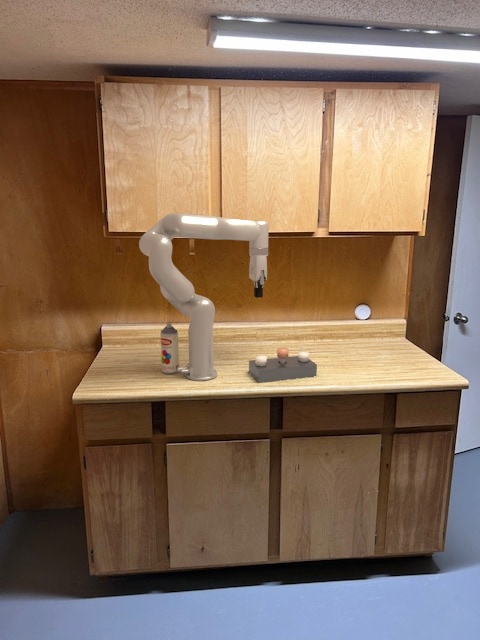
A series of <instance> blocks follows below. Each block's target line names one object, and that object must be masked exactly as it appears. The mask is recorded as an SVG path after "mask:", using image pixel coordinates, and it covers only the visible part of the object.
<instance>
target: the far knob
mask: <svg viewBox="0 0 480 640" xmlns="http://www.w3.org/2000/svg"><path fill="white" fill-rule="evenodd" d="M297 356H298V361H301V362H307V361H309V359H310V352H309V351H304V350H303V351H302V350H301V351H298V353H297Z"/></svg>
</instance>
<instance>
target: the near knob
mask: <svg viewBox="0 0 480 640" xmlns="http://www.w3.org/2000/svg"><path fill="white" fill-rule="evenodd" d="M267 359H268V356H267V355H264V354H258V355H255V358H254V360H255V364H256V365H257V366H265V365H267Z"/></svg>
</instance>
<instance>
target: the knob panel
mask: <svg viewBox="0 0 480 640" xmlns="http://www.w3.org/2000/svg"><path fill="white" fill-rule="evenodd" d="M317 368H318V364H317V363H316V362H314V361H313V360H312V359H310V358H309V361H307V362H301V361H298V355H295V356H294V355H293V356H288V358H285V364H280V358H278V357H274V358H273V357H272V358H267V365H265V366H257V365H256V364H255V359H251V360H250V359H249V360H248V374H249V375H251V376H252V377H253V379H254V380H255V381H256V382H257V383H258V384H260V383H261V384H262V383H269V382H271V383H272V382H279V381H280V380H281V381H288V380H287V379H290V380H297V379H296V378H299V379H306V378H305V377H308V378H314V376H316V377H317V374H318V373H317V371H318V370H317Z"/></svg>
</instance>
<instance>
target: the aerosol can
mask: <svg viewBox="0 0 480 640" xmlns="http://www.w3.org/2000/svg"><path fill="white" fill-rule="evenodd" d="M160 350H161V351H160V353H161V355H160V357H161V373H162V374H164V375H175V374H178V373H179V372H177V367H180V358H179V355H180V354H179V332H178V330H177V329H176V328H175V327H174V326H172V323H171V322H166V326H165V327H163V329H161V331H160Z"/></svg>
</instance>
